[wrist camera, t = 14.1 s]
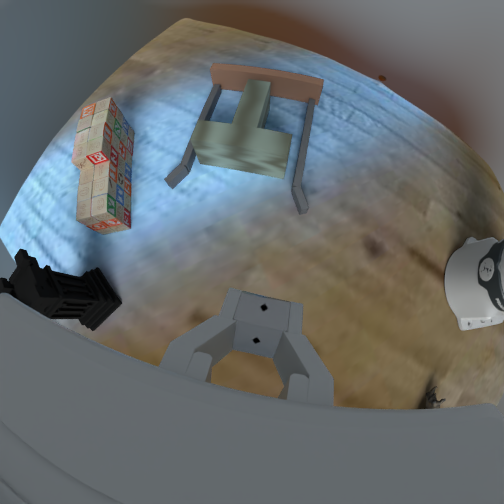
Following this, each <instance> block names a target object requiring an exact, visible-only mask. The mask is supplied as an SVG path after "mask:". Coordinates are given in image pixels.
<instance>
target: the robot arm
mask: <svg viewBox="0 0 504 504" xmlns="http://www.w3.org/2000/svg"><path fill="white" fill-rule="evenodd" d="M445 292H446V297H447V300H448V303H449V305H450V307H451V309H452V311H453V312H454V314H455V315H456V317H457V321H458V325H459V328H460V329H461V330H470V329H475V328H480V327H485V326H490V325H495V324H499V323H502V322H503V320H504V239H502V240H500V241H498V240H496V239H495V238H494V237H491V238H487V239H483V240H479V241H478V240H476V239H475V238H474V237H469V238H467V239H466V241H465V243H464V245H463V246H462V247H461V248H459V249H457V250H456V251H455V252H454V253H453V254H452V256H451V257H450V259H449V261H448V264H447V267H446V272H445ZM302 320H303V304H300V303H295V302H289V301H285V300H280V299H275V298H271V297H266V296H262V295H258V294H254V293H250V292H246V291H241V290H237V289H234V288H229V290H228V292H227V295H226V298H225V300H224V303H223V306H222V308H221V311H220V314H219V316H217V315H215V316H213V317H211V318H210V319H208V320H206V321H205V322H203V323H201V324H200V325H198V326H196V327H195V328H193V329H191V330H190V331H188V332H186V333H185V334H183V335H181V336H180V337H178V338H176V339H175V340H173V341H171V342H170V344H169V346H168V348H167V350H166V353H165V355H164V357H163V359H162V361H161V363H160V365H159V367H157V366H154V365H151V364H148V363H146V362H143V361H140V360H138V359H135V358H133V357H130V356H127V355H125V354H123V353H120V352H118V351H115V350H113V349H111V348H108V347H106V346H104V345H101V344H99V343H97V342H95V341H93V340H90V339H88V338H86V337H84V336H82V335H80V334H78V333H76V332H74V331H72V330H70V329H68V328H66V327H64V326H62V325H60V324H58V323H57V322H54V321H53V320H51V319H49V318H47V317H46V316H44V315H42V314H40V313H39V312H37V311H35V310H33V309H32V308H30V307H28V306H27V305H25V304H24V303H22V302H20V301H19V300H17V299H16V298H14V297H13V296H11V295H10V294H8V293H1V294H0V504H504V416H503V415H502V414H501V413H500V411H499V410H498V409H497V408H496V407H495V406H494V405H493V404H491V403H485V404H478V405H470V406H461V407H451V408H437V409H409V410H394V409H364V408H349V407H338V406H333V393H334V379H333V377H332V376H331V374H330V373H329V371H328V369H327V368H326V366H325V365H324V363H323V362H322V360H321V359H320V357H319V356H318V354H317V353H316V351H315V350H314V348H313V347H312V345H311V344H310V342H309V341H308V339H307V338H306V336H305V335H302ZM232 349H233V350H237V351H242V352H247V353H252V354H256V355H260V356H264V357H268V358H273V361H274V364H275V366H276V368H277V370H278V373H279V375H280V377H281V379H282V382H283V384H284V388H283V390H282V391H281V393H280V395H279V397H278V398H273V397H268V396H263V395H258V394H253V393H248V392H244V391H239V390H235V389H231V388H227V387H223V386H219V385H215V384H211V372H212V367H213V366H214V365H215V364H216V363H218V362H219V361H220V360H221V359H222V358H224V357H225V356H226V355H227V354H228V353H229V352H231V351H232Z"/></svg>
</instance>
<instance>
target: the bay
mask: <svg viewBox="0 0 504 504" xmlns="http://www.w3.org/2000/svg"><path fill="white" fill-rule="evenodd" d="M210 72H211V77H212V82H213V88H212V90H211V92H210V94H209V97H208V99H207V101H206V103H205V105H204V108H203V110H202V112H201V115H200V117H199V119H198V120H204V121H209V120H210V118H211V116H212V113H213V111H214V108H215V106H216V104H217V101H218V99H219V97H220V94H221V89H225V90H234V91H244V88H245V86H246V83H247V81H248V79H252V80H260V81H267V82H271V84H270V96H276V97H281V98H287V99H292V100H297V101H301V102H306V103H308V107H307V112H306V118H305V123H304V129H303V134H302V140H301V145H300V150H299V155H298V161H297V166H296V171H295V176H294V181H293V186H292V191H291V192H292V196H293V199H294V201H295V204H296V207H297V209H298V212H299V215H301V214H304V213H307V211H308V209H309V207H308V204H307V201H306V199H305V196H304V194H303V191H302V189H301V181H302V176H303V170H304V165H305V159H306V154H307V148H308V142H309V136H310V130H311V124H312V118H313V112H314V105H318V102H319V99H320V95H321V91H322V87H323V81H324V80H323V79H319V78H315V77H311V76H306V75H301V74H296V73H291V72H285V71H279V70H273V69H267V68H259V67H251V66H242V65H232V64H218V63H213V64H212V66H211V68H210ZM197 122H198V121H197ZM195 127H196V126H195ZM193 132H194V131H193ZM192 134H193V133H192ZM190 139H191V138H190ZM195 157H196V153H195V150H194V148H193V145H192V143H191V140H190V141H189V143H188V146H187V148H186V151H185V153H184V156H183V159H182V161H181V164H180V165H179V166H178V167H176V168H175V169H174V170H173V171H172V172H171V173H170V174H169V175H168V176H167V177H166V178H165V179H164V180H165V181H166V183H167V184H168V185H169V186H170V187H171V188H172V189H173V188H174V187H175V186H176V185H177V184H178V183H180V182H181V181H182V180H183V179H184V178H185V177H186V176H187V175H188V174H189V173H188V172H190V170H191V168H192V165H193V162H194V159H195Z"/></svg>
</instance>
